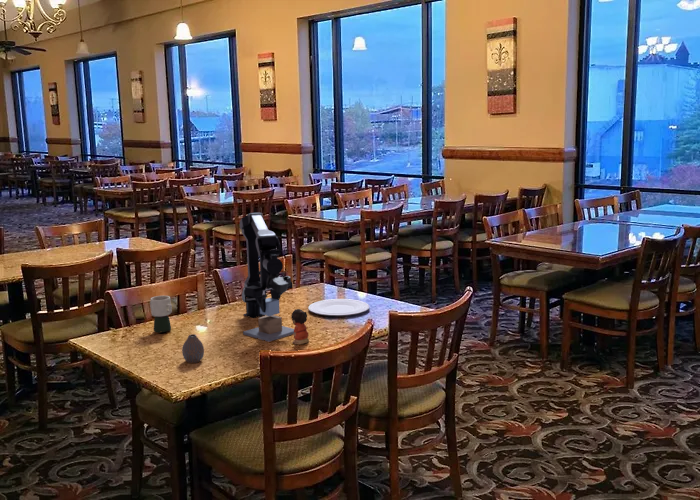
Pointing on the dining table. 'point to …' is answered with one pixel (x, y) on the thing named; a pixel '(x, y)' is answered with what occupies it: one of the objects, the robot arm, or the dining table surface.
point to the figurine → (300, 326)
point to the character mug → (161, 313)
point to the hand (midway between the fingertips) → (269, 310)
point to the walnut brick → (270, 324)
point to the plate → (338, 307)
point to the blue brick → (271, 307)
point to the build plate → (269, 337)
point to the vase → (193, 349)
